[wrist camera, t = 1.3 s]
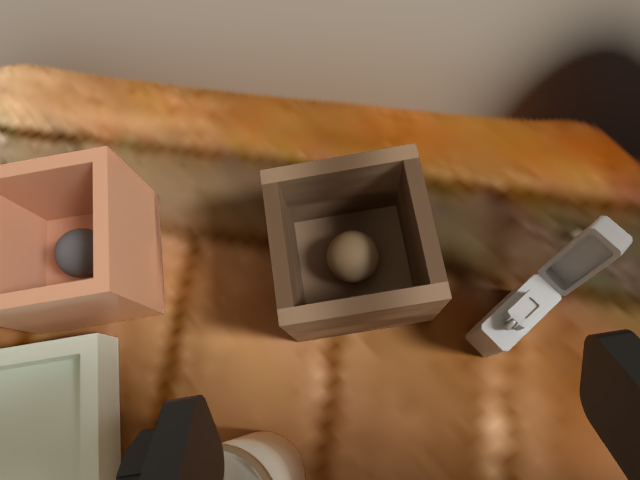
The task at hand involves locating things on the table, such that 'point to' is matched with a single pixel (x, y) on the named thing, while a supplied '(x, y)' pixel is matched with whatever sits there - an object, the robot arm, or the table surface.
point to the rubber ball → (75, 253)
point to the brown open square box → (360, 215)
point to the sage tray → (60, 409)
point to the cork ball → (352, 256)
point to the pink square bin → (72, 213)
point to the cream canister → (262, 458)
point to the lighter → (549, 286)
